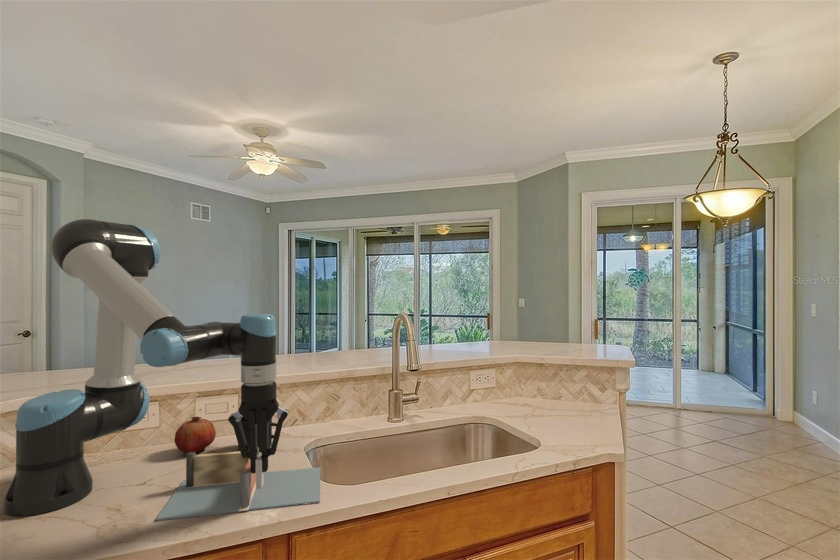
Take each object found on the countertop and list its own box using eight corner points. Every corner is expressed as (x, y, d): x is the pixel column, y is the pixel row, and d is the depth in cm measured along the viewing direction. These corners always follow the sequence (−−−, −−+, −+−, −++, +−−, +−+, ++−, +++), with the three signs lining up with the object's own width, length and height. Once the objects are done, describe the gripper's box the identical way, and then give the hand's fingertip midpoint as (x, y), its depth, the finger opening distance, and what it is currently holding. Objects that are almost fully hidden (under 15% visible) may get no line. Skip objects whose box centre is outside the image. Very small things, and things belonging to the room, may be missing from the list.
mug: (279, 451, 124) (279, 420, 124) (235, 455, 121) (235, 423, 121) (281, 439, 133) (281, 411, 133) (240, 443, 130) (241, 414, 130)
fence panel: (249, 481, 103) (249, 451, 103) (257, 480, 103) (257, 451, 104) (239, 508, 90) (239, 474, 91) (248, 507, 91) (248, 473, 91)
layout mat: (154, 522, 86) (154, 520, 86) (184, 481, 104) (184, 479, 104) (319, 503, 94) (319, 501, 94) (320, 468, 112) (320, 466, 112)
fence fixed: (184, 489, 100) (185, 455, 100) (187, 485, 102) (187, 452, 102) (258, 482, 104) (258, 449, 104) (259, 478, 106) (259, 446, 106)
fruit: (217, 443, 130) (217, 410, 130) (212, 455, 121) (213, 420, 121) (178, 447, 127) (179, 413, 127) (170, 460, 117) (171, 424, 117)
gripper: (224, 388, 90) (225, 498, 90) (286, 384, 93) (287, 490, 93) (232, 380, 98) (232, 482, 98) (289, 376, 101) (290, 475, 100)
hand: (259, 486), depth 95 cm, fingers closed
